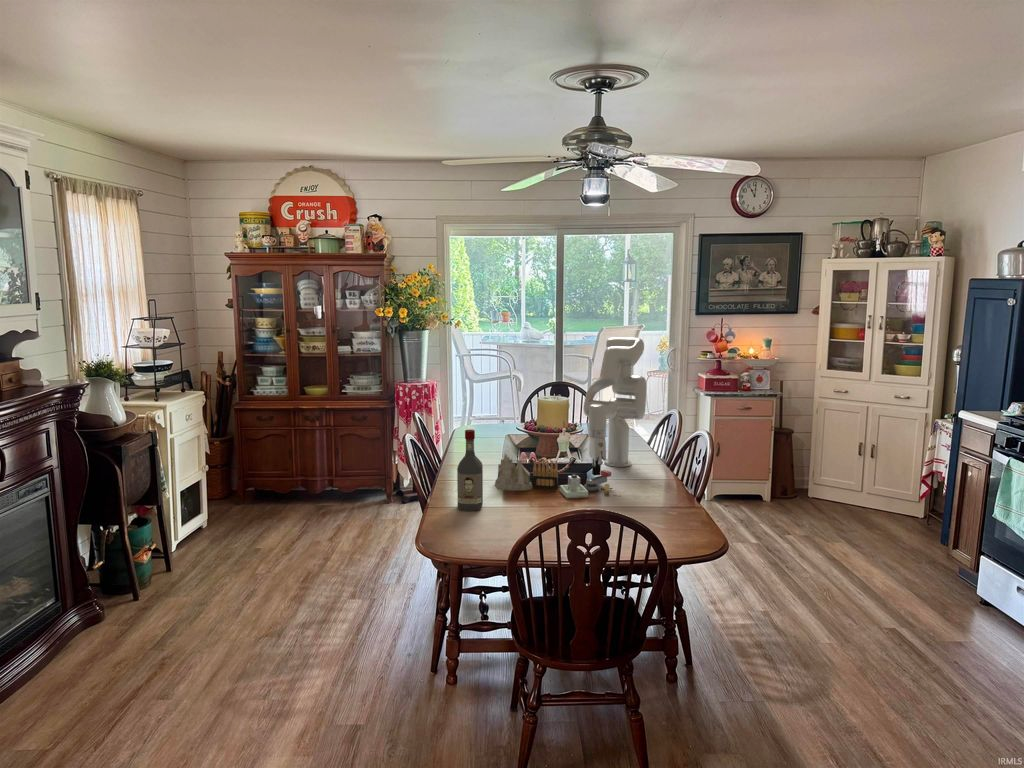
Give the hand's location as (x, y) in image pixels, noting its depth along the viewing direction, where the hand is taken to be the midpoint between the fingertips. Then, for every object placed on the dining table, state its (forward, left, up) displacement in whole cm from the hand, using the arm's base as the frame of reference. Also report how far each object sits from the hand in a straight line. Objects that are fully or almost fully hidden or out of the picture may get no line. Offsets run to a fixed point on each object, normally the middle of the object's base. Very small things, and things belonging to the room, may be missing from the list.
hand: (596, 474), depth 292 cm
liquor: (+22, -57, -4) cm, 62 cm away
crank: (+8, -2, -1) cm, 9 cm away
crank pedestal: (+14, -2, -3) cm, 14 cm away
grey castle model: (-3, -35, -4) cm, 36 cm away
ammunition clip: (+3, -23, -4) cm, 24 cm away
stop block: (+14, -14, -3) cm, 20 cm away
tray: (+14, -14, -3) cm, 20 cm away
